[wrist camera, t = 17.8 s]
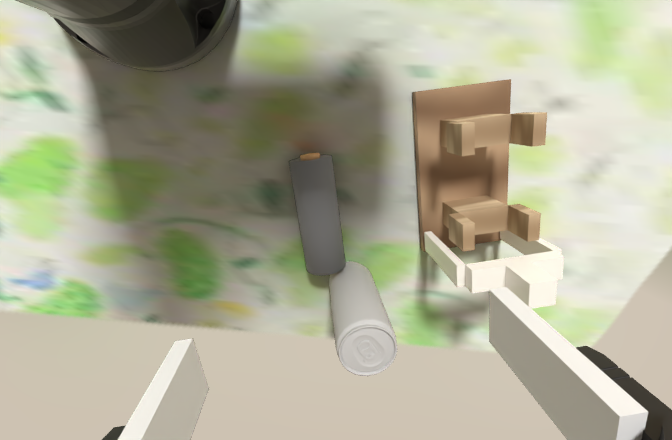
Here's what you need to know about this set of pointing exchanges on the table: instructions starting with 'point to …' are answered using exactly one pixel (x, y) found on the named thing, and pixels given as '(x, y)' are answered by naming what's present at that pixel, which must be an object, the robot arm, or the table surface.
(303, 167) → the grey capped cylinder
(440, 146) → the cradle board
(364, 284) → the beverage can
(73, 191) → the table surface
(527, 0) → the table surface
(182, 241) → the table surface
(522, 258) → the white bar frame
